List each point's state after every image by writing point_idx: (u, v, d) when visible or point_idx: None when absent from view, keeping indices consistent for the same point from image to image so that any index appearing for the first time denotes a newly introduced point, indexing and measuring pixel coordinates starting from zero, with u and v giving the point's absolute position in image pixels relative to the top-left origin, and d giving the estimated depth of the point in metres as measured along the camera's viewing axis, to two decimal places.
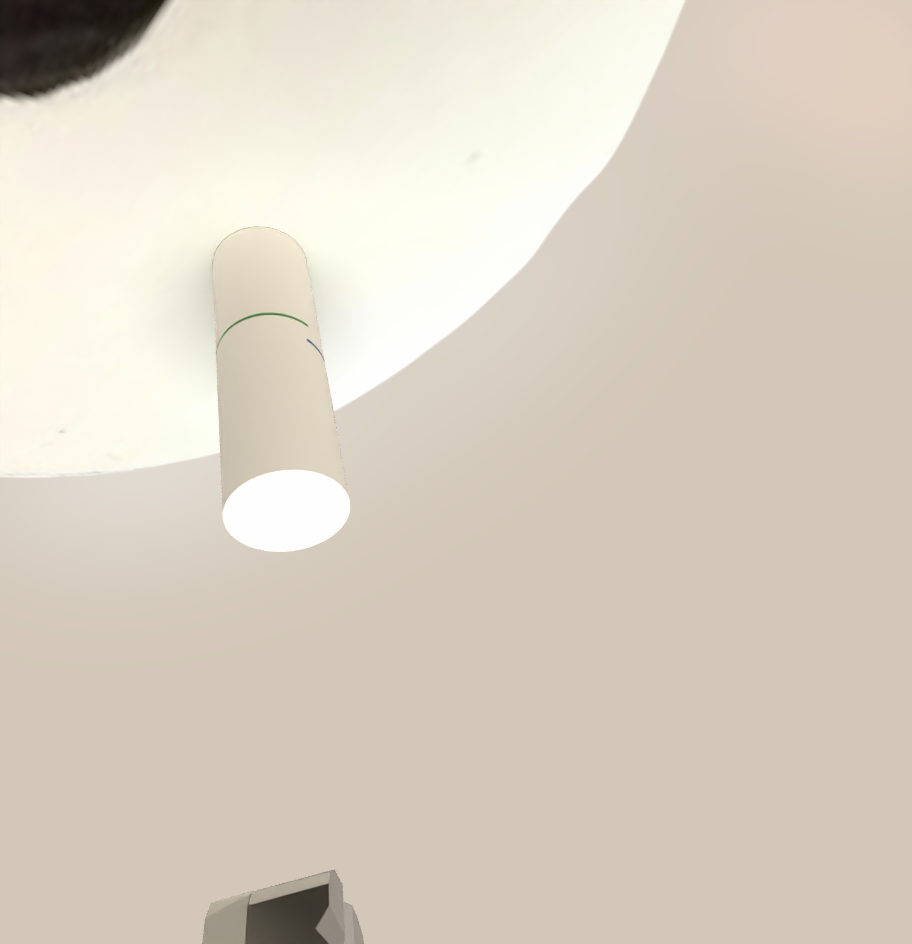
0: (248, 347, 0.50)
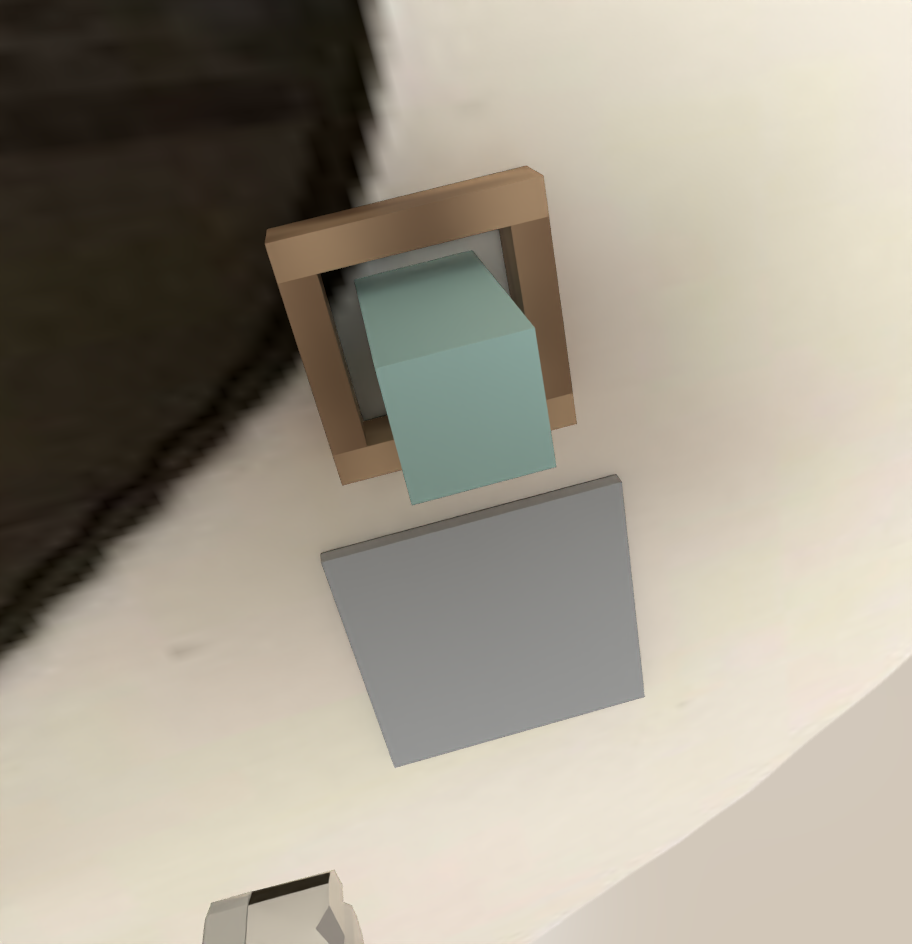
0: None
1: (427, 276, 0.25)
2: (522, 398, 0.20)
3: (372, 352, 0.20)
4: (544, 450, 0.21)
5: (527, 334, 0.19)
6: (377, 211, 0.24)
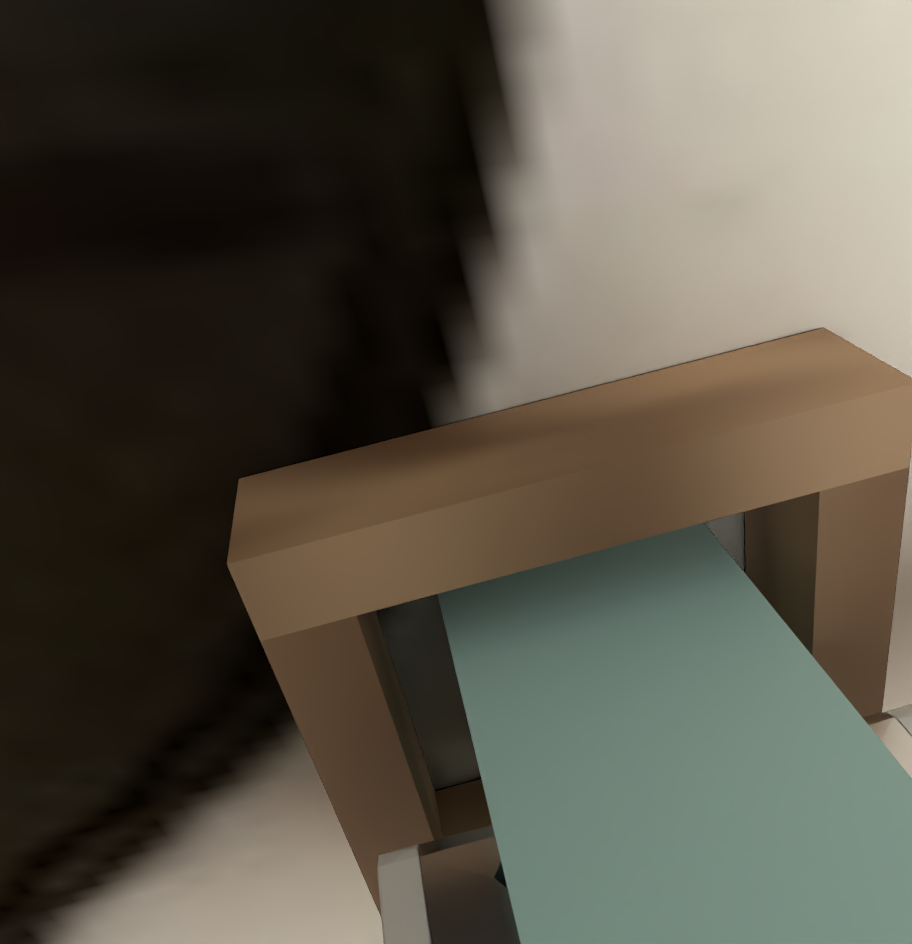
0: None
1: (607, 591, 0.11)
2: None
3: None
4: None
5: None
6: (502, 461, 0.10)
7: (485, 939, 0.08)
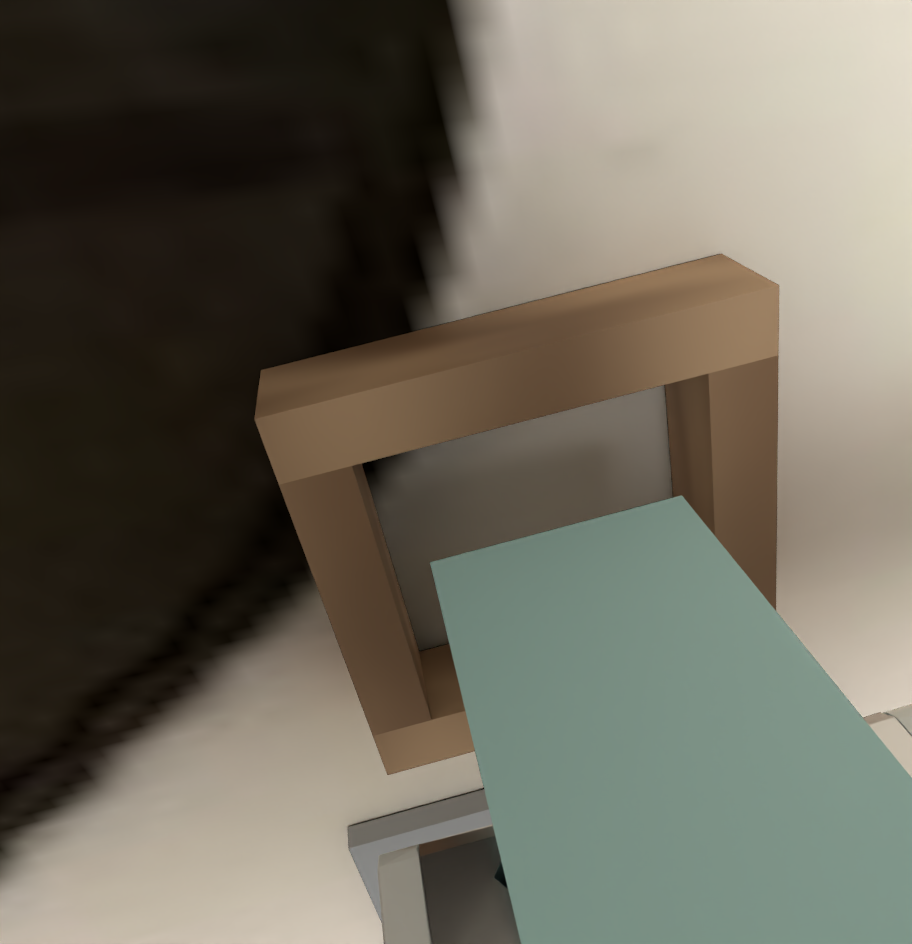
0: None
1: (608, 590, 0.11)
2: None
3: None
4: None
5: None
6: (464, 348, 0.13)
7: (485, 939, 0.08)
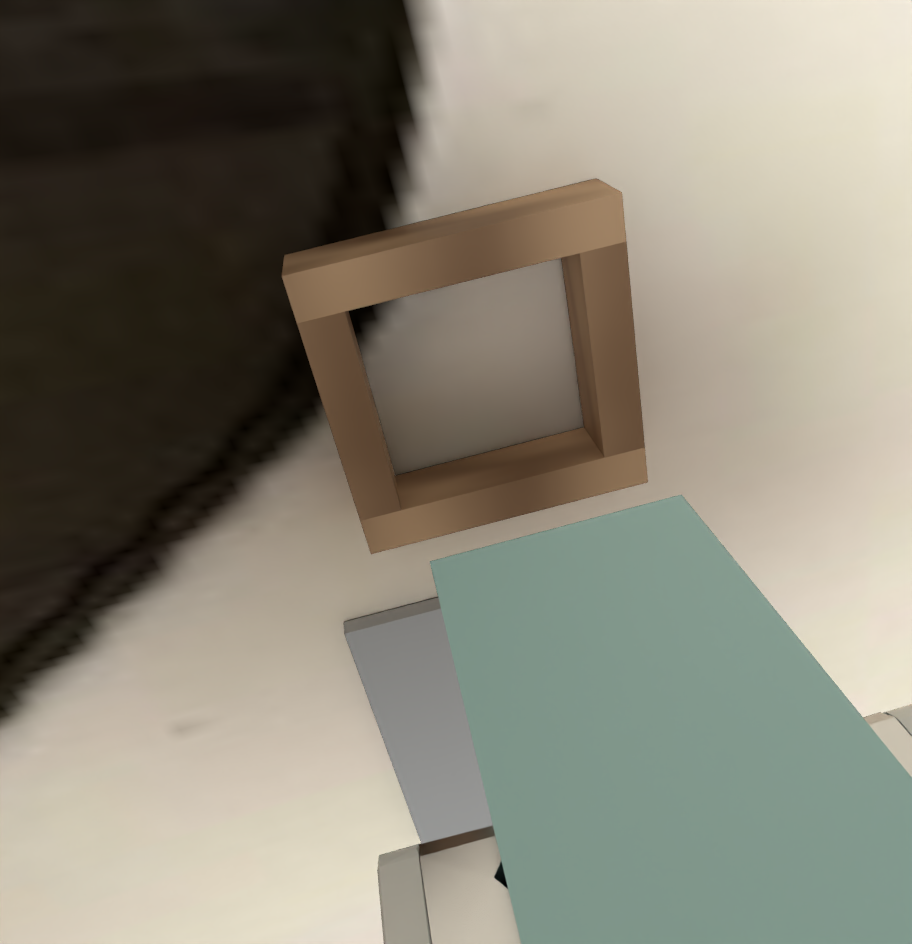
0: None
1: (607, 589, 0.11)
2: None
3: None
4: None
5: None
6: (418, 235, 0.20)
7: (485, 939, 0.08)
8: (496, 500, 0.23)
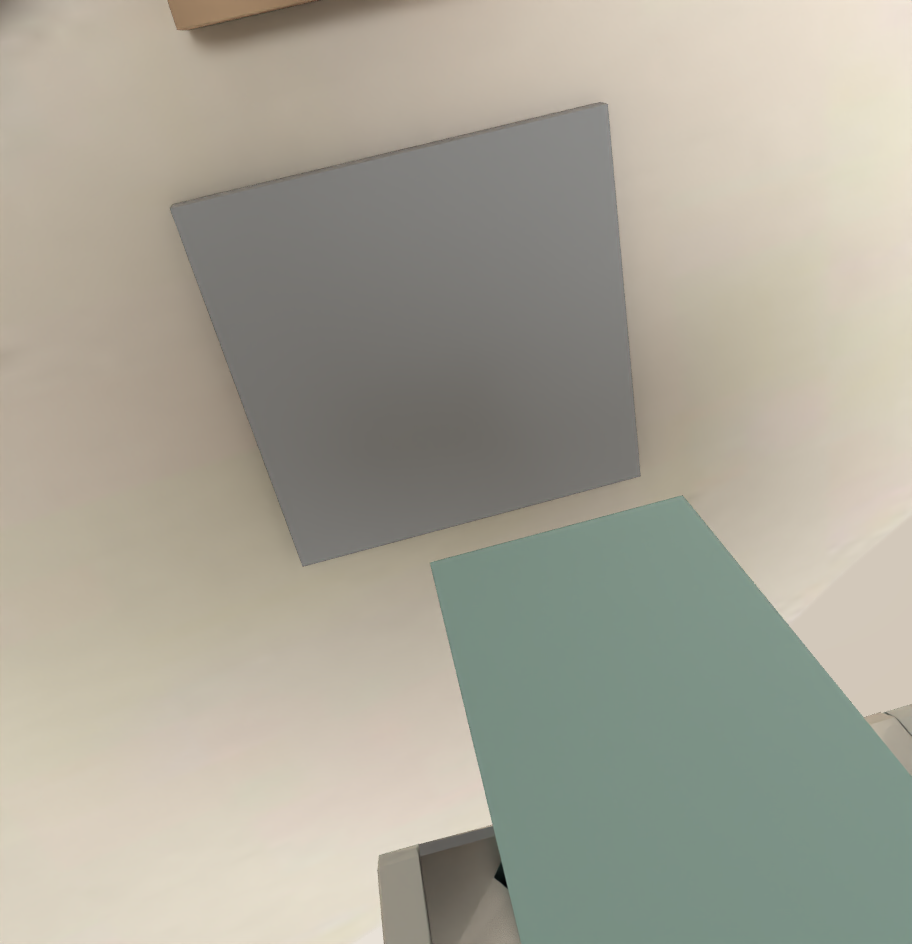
0: None
1: (608, 591, 0.11)
2: None
3: None
4: None
5: None
6: None
7: (485, 939, 0.08)
8: None
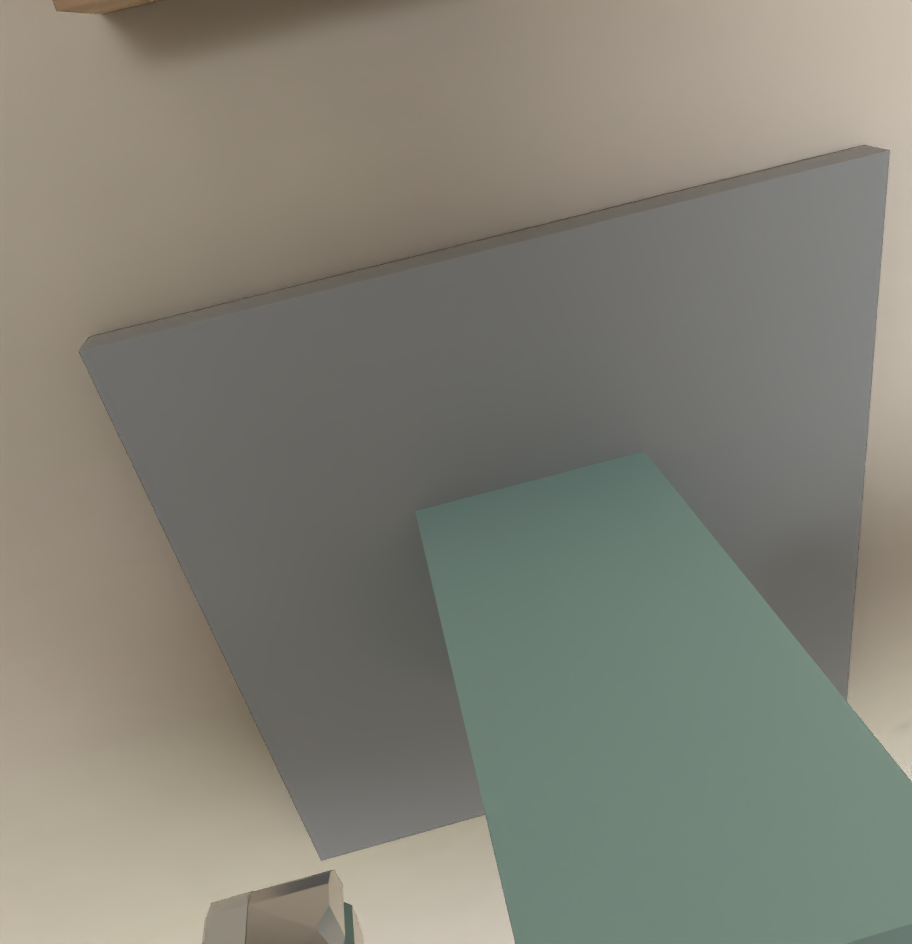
0: None
1: (573, 530, 0.12)
2: None
3: (510, 903, 0.07)
4: None
5: None
6: None
7: None
8: None
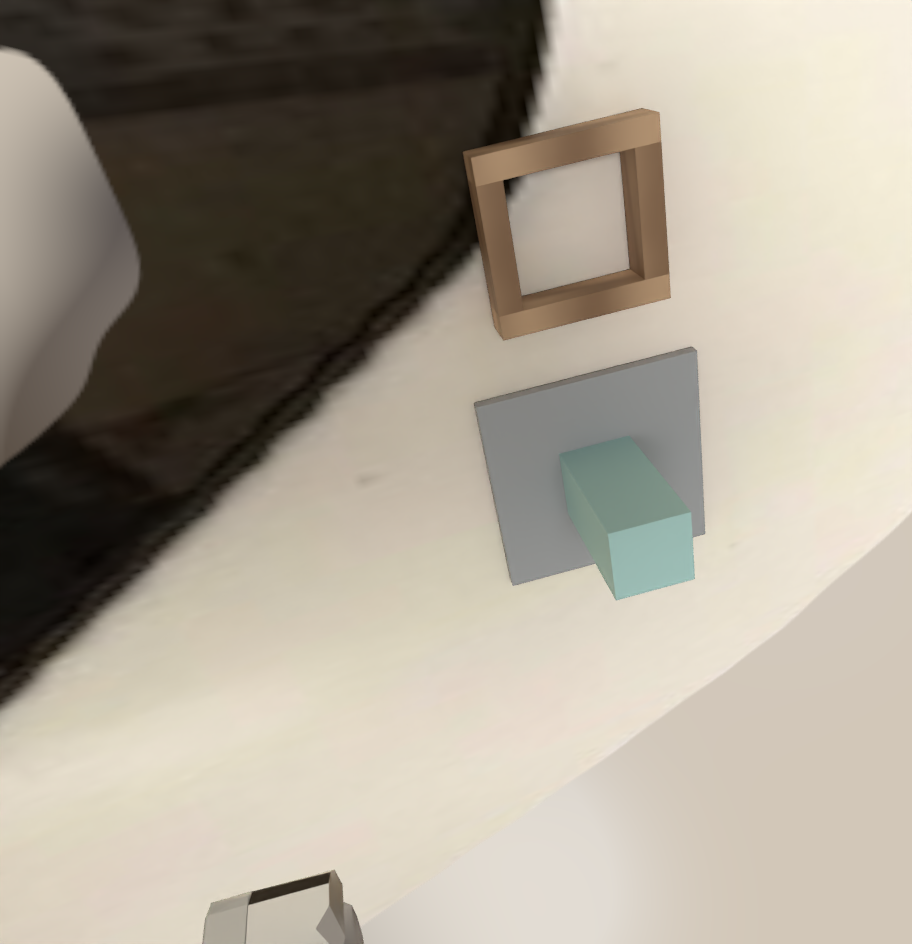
0: None
1: (608, 457, 0.42)
2: (680, 545, 0.37)
3: (600, 521, 0.37)
4: (689, 570, 0.38)
5: (686, 515, 0.37)
6: (543, 137, 0.34)
7: None
8: (579, 306, 0.38)
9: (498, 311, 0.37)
